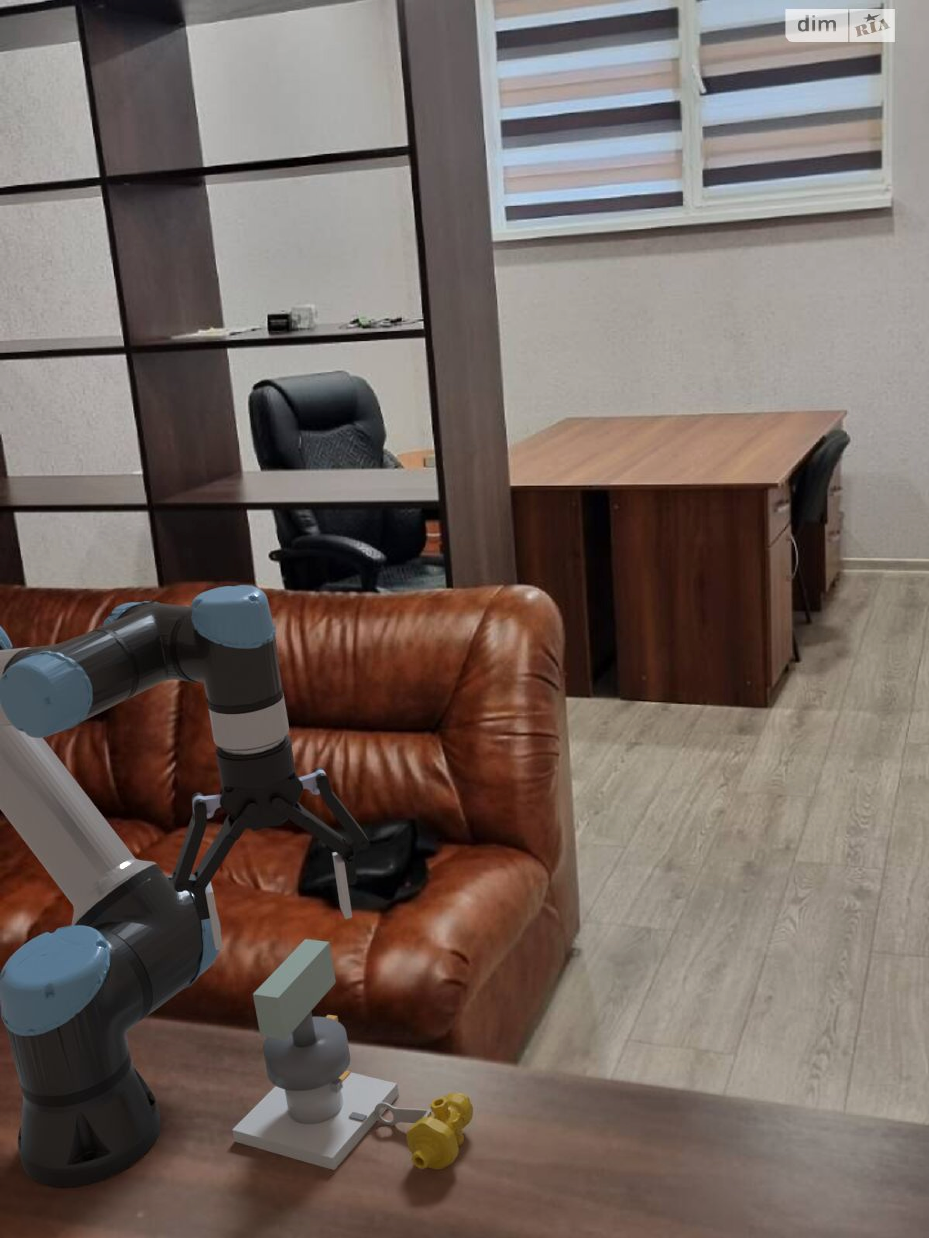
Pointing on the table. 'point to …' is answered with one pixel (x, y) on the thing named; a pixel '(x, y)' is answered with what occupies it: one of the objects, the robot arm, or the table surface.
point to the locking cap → (301, 1021)
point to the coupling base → (320, 1135)
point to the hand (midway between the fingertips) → (283, 927)
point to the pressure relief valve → (433, 1129)
